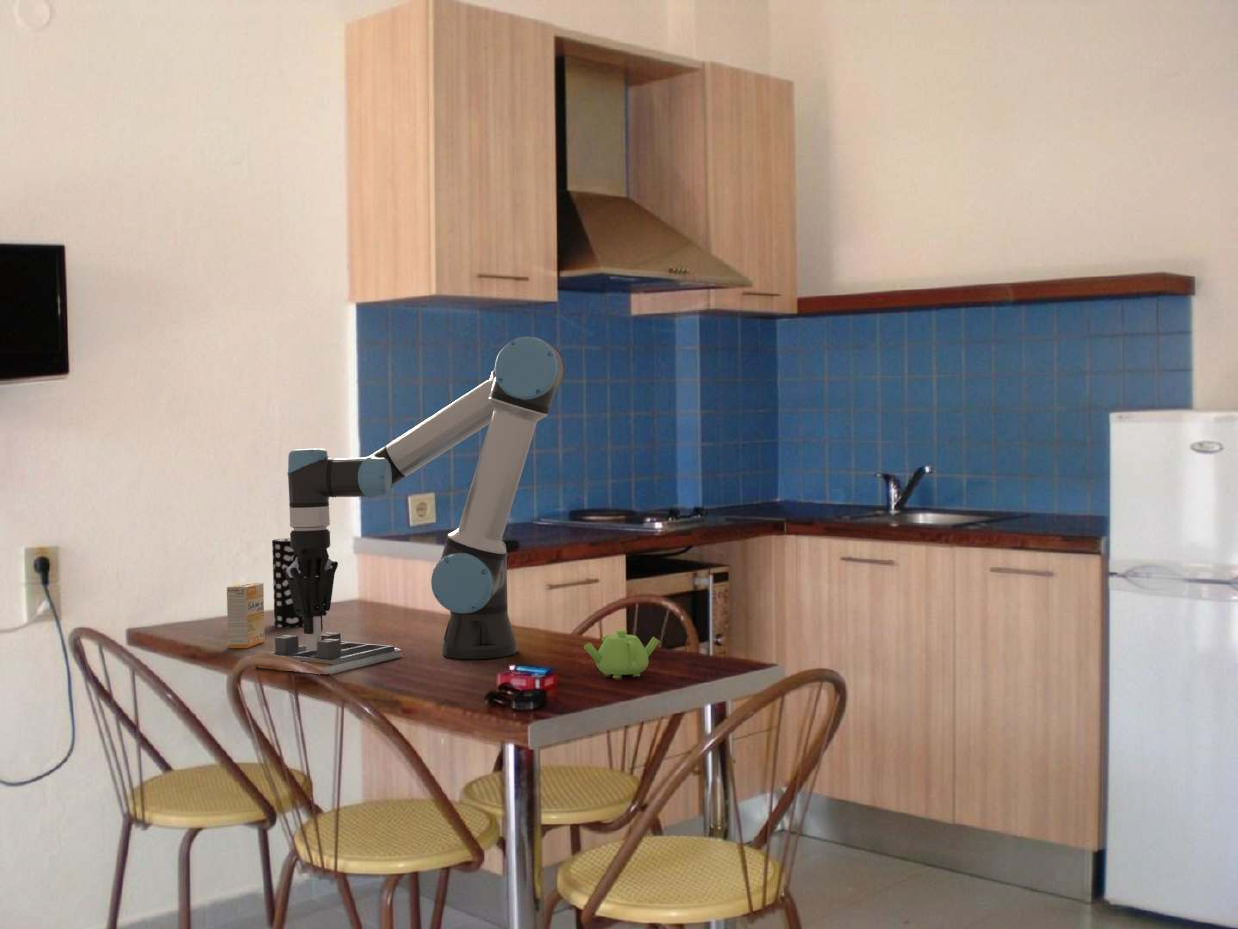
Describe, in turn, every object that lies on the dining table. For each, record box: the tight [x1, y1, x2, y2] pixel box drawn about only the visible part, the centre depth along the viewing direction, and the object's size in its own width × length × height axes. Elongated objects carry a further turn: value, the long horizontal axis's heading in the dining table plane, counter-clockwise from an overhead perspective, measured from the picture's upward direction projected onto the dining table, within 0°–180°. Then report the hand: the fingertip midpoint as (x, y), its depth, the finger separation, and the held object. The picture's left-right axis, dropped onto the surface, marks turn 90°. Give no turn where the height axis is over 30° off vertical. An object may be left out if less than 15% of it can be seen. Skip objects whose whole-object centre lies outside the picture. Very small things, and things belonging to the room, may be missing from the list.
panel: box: [270, 641, 403, 675], centre depth 272 cm, size 18×22×2 cm
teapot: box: [583, 629, 661, 678], centre depth 252 cm, size 11×12×8 cm
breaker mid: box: [321, 631, 342, 641], centre depth 272 cm, size 3×4×4 cm
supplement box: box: [226, 582, 265, 649], centre depth 294 cm, size 8×5×13 cm, turn 168°
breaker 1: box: [274, 634, 300, 655], centre depth 269 cm, size 3×4×4 cm
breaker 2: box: [317, 639, 342, 660], centre depth 264 cm, size 3×4×4 cm
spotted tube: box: [271, 537, 304, 629], centre depth 323 cm, size 8×8×20 cm
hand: (313, 649), depth 268 cm, fingers closed
